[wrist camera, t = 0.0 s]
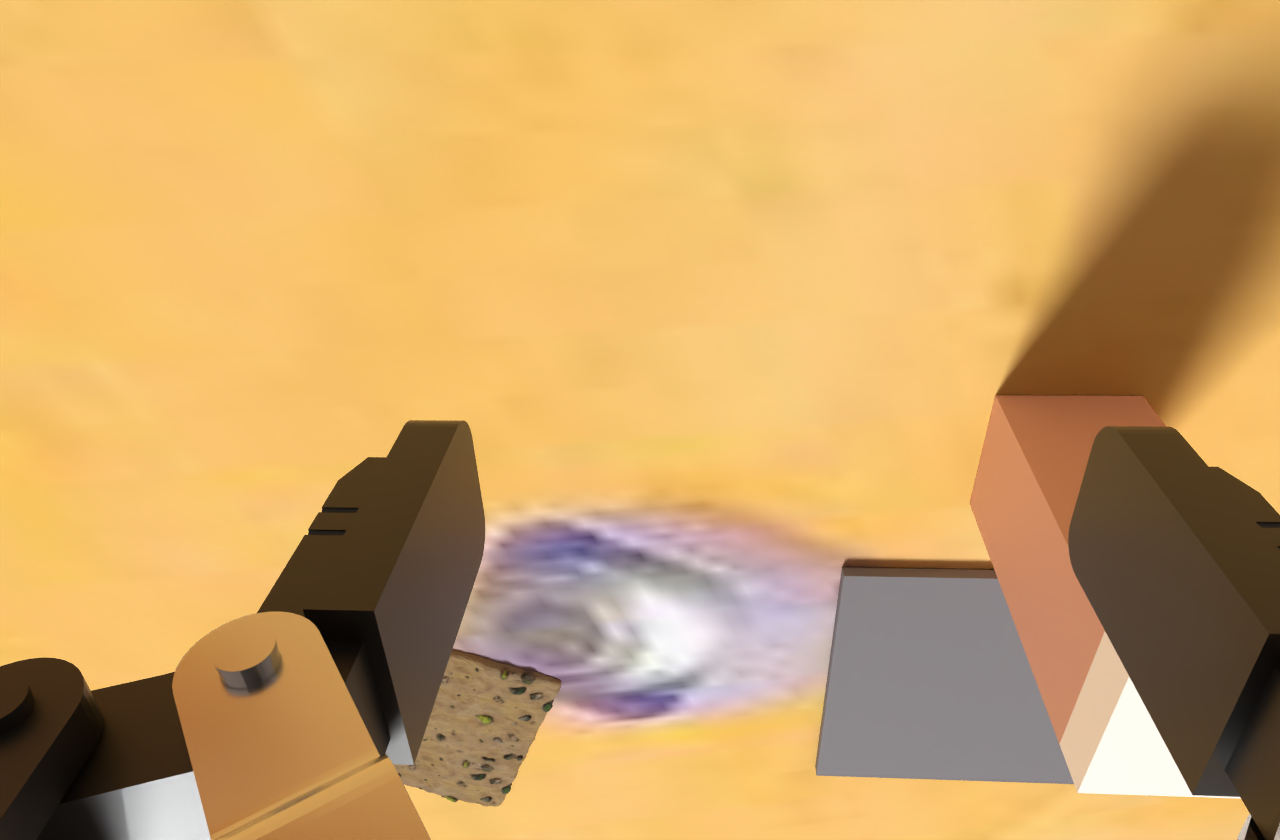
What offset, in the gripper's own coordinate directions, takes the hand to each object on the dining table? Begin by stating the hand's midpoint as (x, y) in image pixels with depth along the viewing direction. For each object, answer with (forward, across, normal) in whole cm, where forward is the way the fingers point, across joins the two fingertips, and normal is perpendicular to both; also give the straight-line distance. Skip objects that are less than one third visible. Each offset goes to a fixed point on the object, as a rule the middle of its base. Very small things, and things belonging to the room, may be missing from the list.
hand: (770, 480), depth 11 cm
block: (+18, -12, +12) cm, 24 cm away
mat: (+19, -14, +24) cm, 34 cm away
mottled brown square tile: (+20, +15, +28) cm, 38 cm away
